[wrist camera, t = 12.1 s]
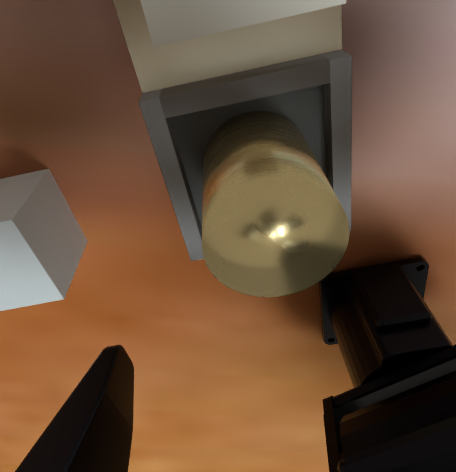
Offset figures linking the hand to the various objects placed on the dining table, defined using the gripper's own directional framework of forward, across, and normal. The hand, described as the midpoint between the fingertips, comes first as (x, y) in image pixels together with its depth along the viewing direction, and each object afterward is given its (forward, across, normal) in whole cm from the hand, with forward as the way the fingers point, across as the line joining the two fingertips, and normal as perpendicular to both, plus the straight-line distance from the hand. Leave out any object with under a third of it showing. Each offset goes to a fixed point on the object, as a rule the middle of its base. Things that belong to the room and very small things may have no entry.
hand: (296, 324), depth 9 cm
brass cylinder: (+9, 0, 0) cm, 9 cm away
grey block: (+11, +12, +1) cm, 16 cm away
